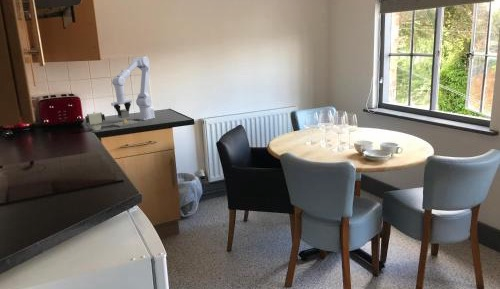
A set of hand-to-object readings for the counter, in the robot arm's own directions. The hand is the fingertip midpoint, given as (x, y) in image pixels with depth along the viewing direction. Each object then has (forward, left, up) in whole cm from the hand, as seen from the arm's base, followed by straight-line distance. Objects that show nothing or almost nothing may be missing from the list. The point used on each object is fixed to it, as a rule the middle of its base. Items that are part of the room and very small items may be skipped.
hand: (123, 114), depth 277 cm
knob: (0, 0, -2) cm, 2 cm away
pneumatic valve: (+19, -3, -7) cm, 21 cm away
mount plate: (-1, -2, -7) cm, 7 cm away
